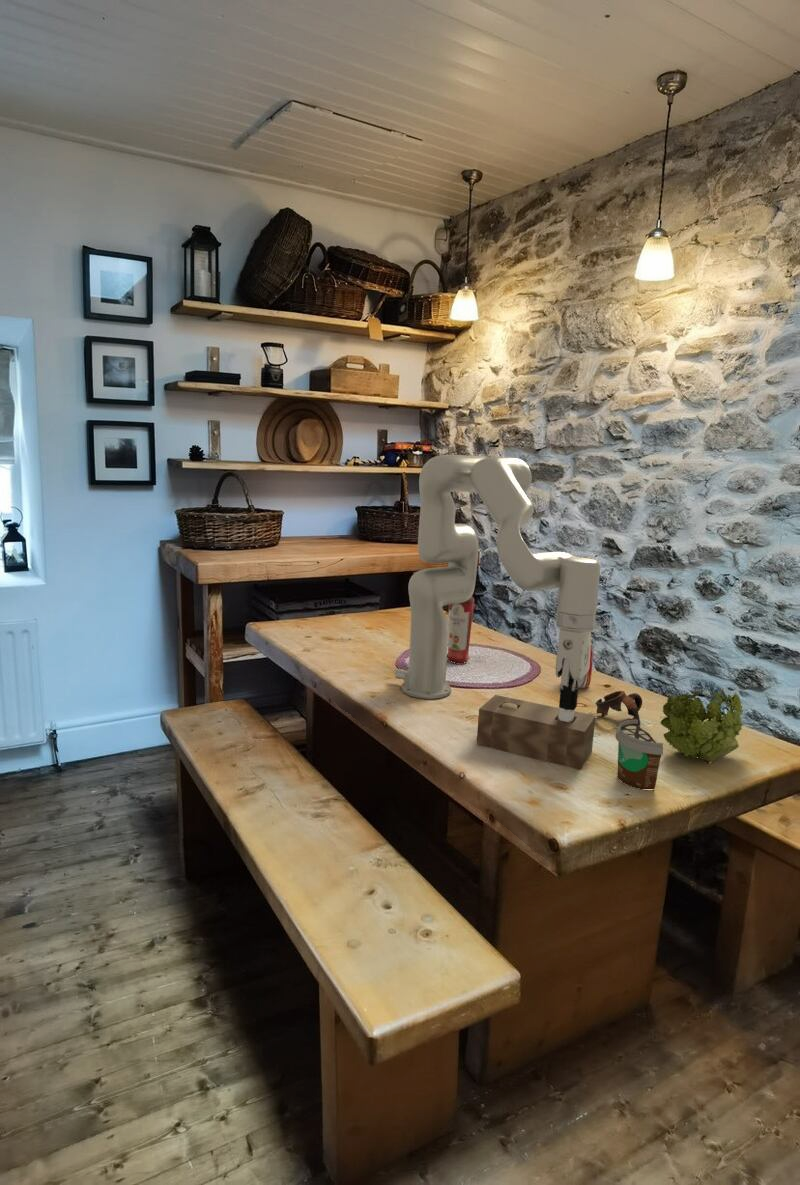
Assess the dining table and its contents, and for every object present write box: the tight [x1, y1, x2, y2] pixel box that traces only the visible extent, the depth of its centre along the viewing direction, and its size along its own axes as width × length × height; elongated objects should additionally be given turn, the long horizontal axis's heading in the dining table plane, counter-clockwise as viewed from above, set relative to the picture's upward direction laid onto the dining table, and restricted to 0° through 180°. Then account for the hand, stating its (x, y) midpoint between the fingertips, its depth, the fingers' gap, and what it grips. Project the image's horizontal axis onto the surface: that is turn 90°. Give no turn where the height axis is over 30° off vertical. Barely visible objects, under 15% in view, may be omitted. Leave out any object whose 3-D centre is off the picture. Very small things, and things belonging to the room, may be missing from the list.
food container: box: [614, 719, 664, 790], centre depth 136 cm, size 12×6×10 cm, turn 5°
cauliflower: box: [660, 688, 745, 764], centre depth 148 cm, size 18×16×16 cm
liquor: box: [447, 595, 475, 664], centre depth 204 cm, size 7×7×28 cm
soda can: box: [578, 642, 595, 689], centre depth 189 cm, size 7×7×12 cm
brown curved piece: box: [595, 690, 643, 727], centre depth 167 cm, size 12×10×8 cm
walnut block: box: [476, 694, 597, 771], centre depth 148 cm, size 22×10×8 cm, turn 63°
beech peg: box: [502, 703, 517, 711], centre depth 151 cm, size 3×3×7 cm
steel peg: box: [558, 706, 576, 723], centre depth 145 cm, size 3×3×7 cm
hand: (567, 707), depth 144 cm, fingers closed
